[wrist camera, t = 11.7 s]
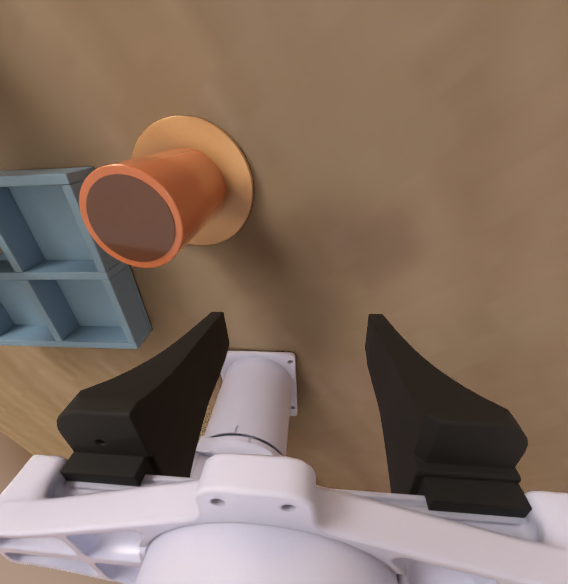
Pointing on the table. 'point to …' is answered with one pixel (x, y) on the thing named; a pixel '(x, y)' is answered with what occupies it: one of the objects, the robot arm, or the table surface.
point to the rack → (60, 269)
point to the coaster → (223, 154)
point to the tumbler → (151, 204)
